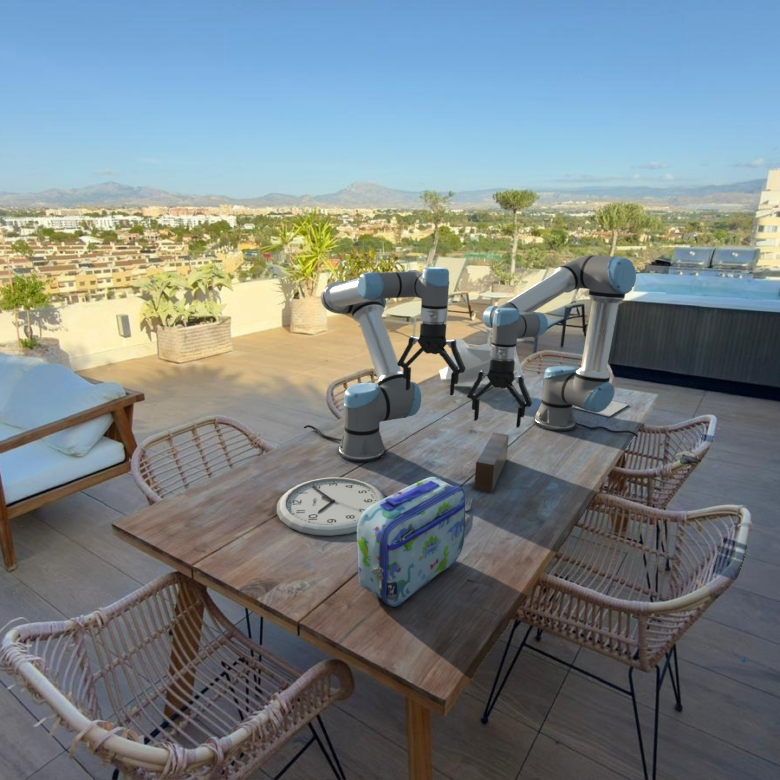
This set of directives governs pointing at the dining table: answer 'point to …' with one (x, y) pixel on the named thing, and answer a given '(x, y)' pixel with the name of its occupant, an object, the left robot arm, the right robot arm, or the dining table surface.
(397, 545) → the lunch box
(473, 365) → the white plastic object
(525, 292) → the right robot arm
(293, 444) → the dining table surface
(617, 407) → the invitation card
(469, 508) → the fork
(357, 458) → the left robot arm
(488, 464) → the bar
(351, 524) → the wall clock
